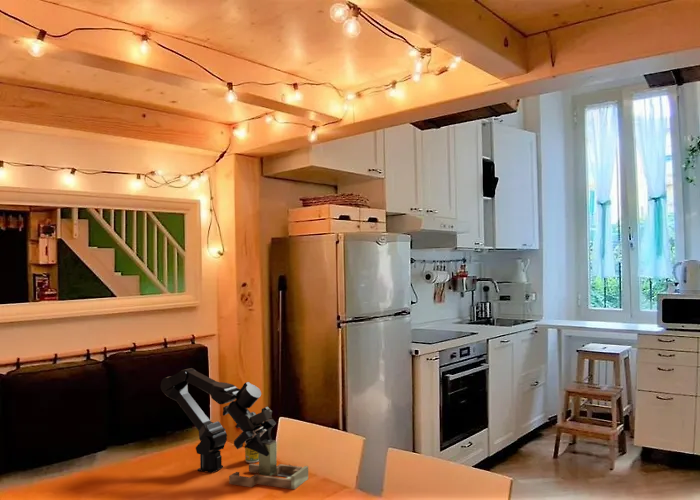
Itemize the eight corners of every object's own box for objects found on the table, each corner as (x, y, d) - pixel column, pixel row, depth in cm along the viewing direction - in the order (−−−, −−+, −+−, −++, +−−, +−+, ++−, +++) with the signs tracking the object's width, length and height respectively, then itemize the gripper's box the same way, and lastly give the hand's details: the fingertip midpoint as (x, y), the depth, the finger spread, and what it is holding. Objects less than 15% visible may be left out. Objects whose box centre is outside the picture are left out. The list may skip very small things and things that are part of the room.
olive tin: (258, 474, 190) (258, 442, 190) (265, 470, 194) (265, 438, 194) (270, 476, 189) (270, 443, 189) (276, 471, 192) (276, 440, 193)
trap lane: (229, 483, 188) (229, 471, 188) (254, 467, 202) (254, 456, 202) (290, 492, 179) (290, 479, 179) (312, 475, 194) (312, 463, 194)
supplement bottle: (256, 457, 214) (256, 430, 214) (262, 461, 209) (262, 434, 210) (242, 460, 211) (242, 433, 211) (248, 464, 206) (248, 436, 207)
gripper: (241, 407, 185) (272, 445, 180) (270, 395, 202) (299, 430, 198) (220, 429, 188) (250, 468, 183) (251, 415, 205) (279, 450, 200)
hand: (271, 453), depth 191 cm, fingers closed on olive tin, 4 cm apart
